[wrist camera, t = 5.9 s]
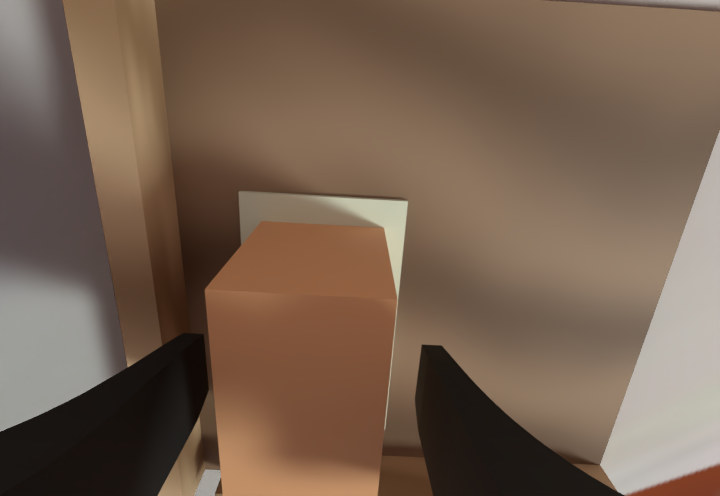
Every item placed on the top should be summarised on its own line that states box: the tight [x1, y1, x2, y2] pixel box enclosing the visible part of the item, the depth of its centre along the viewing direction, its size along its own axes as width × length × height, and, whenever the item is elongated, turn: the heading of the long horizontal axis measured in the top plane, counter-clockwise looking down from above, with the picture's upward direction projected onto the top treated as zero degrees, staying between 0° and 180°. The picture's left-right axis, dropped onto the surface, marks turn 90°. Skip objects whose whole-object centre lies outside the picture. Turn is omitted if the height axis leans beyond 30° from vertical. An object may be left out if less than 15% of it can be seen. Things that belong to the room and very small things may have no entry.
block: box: [205, 221, 398, 496], centre depth 12 cm, size 8×4×5 cm, turn 177°
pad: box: [238, 191, 408, 430], centre depth 14 cm, size 9×5×1 cm, turn 177°
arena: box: [62, 0, 720, 496], centre depth 13 cm, size 18×18×3 cm
